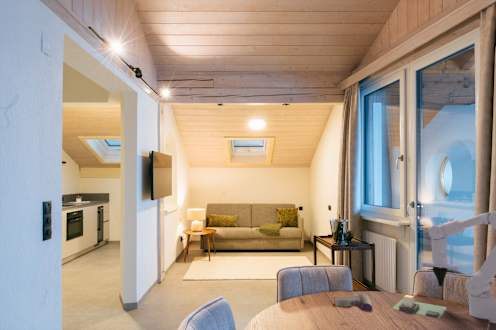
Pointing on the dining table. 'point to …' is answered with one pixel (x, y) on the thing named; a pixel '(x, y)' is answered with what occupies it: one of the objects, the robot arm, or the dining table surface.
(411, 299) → the plug
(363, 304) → the infrared thermometer
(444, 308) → the circuit board
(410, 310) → the socket
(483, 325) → the dining table surface
